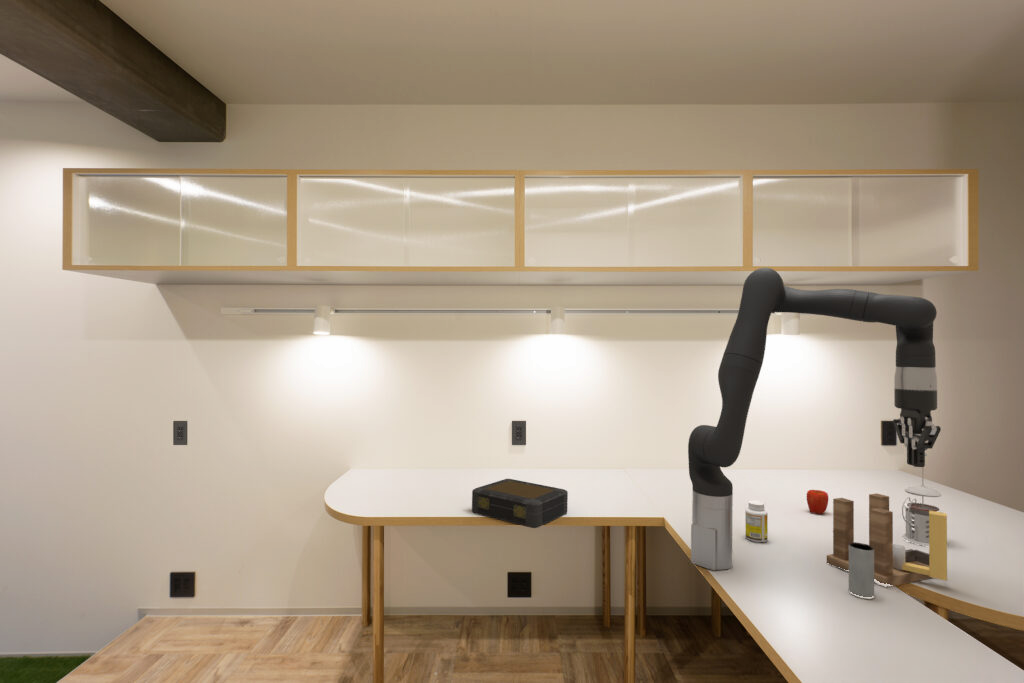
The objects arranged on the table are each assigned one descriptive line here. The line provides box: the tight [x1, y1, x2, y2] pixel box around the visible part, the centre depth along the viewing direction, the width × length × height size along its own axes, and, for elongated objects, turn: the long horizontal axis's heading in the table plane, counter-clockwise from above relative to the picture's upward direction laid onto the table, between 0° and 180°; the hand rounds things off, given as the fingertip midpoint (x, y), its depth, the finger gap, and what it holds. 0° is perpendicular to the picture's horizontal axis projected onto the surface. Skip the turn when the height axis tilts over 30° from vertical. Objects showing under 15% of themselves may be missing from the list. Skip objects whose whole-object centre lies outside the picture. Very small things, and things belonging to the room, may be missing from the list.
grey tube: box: [848, 541, 875, 597], centre depth 110 cm, size 4×4×10 cm
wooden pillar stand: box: [826, 493, 932, 587], centre depth 123 cm, size 18×14×16 cm
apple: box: [806, 489, 829, 515], centre depth 168 cm, size 6×6×8 cm
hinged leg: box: [893, 511, 948, 581], centre depth 117 cm, size 10×3×14 cm, turn 51°
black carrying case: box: [471, 478, 569, 529], centre depth 164 cm, size 25×20×8 cm
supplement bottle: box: [744, 500, 769, 543], centre depth 142 cm, size 6×6×10 cm
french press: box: [901, 452, 942, 547], centre depth 143 cm, size 10×12×25 cm
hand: (915, 465), depth 114 cm, fingers closed
